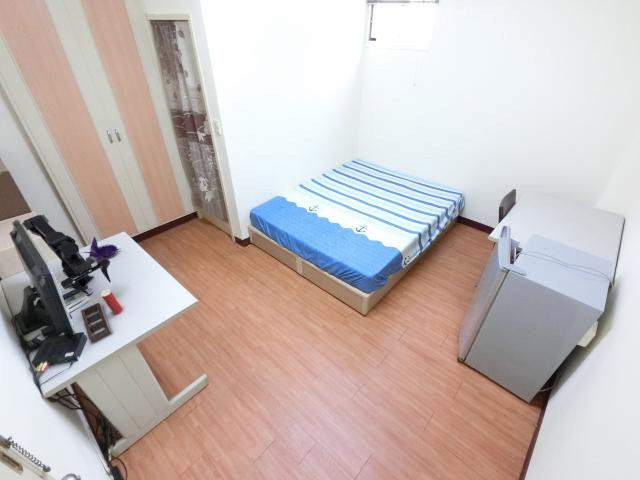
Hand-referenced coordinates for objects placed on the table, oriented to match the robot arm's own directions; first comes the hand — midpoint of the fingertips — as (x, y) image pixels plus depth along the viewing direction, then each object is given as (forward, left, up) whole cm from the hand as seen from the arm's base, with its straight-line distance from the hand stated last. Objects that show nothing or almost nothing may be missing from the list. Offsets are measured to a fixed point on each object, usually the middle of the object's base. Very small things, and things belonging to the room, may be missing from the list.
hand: (99, 288), depth 129 cm
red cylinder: (+5, -2, -12) cm, 13 cm away
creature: (-28, +31, -12) cm, 43 cm away
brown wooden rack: (+1, -10, -12) cm, 16 cm away
